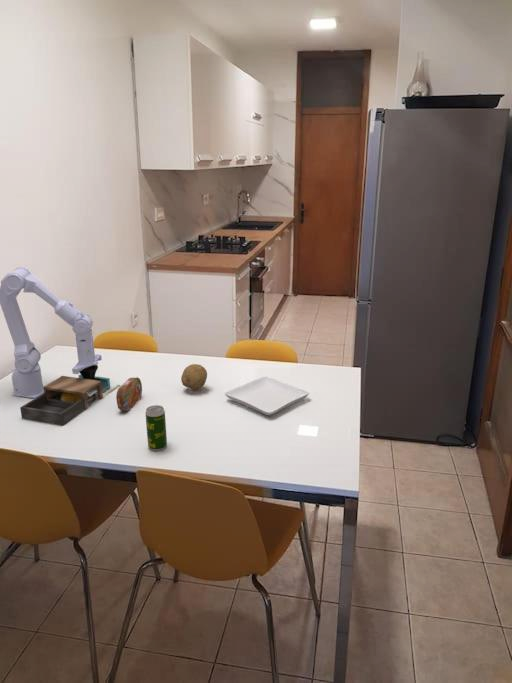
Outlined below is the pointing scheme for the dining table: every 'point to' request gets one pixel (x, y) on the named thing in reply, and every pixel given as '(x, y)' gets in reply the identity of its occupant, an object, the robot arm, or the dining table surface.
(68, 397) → the bread roll
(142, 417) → the dining table surface
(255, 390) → the salad plate
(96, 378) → the drawer
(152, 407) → the beer can
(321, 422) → the dining table surface
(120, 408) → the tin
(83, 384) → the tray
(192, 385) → the brown potato
